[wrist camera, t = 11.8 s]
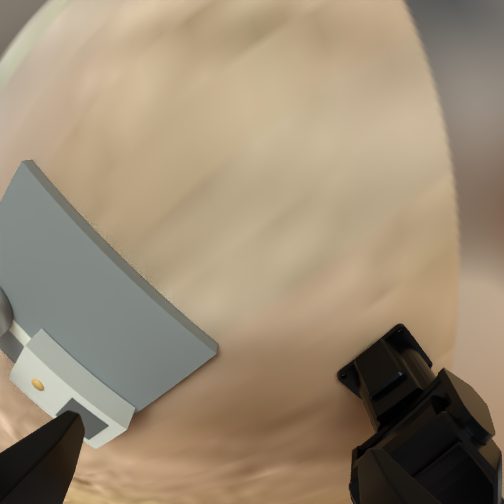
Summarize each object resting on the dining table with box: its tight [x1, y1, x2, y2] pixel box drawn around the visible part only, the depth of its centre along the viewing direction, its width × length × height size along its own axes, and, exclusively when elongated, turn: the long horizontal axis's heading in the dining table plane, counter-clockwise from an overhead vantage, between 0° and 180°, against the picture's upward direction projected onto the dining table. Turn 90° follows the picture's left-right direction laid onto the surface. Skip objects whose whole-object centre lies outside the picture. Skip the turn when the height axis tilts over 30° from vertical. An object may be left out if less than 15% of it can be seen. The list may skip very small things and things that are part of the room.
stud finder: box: [8, 328, 135, 449], centre depth 20 cm, size 10×6×3 cm, turn 44°
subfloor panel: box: [0, 160, 218, 415], centre depth 21 cm, size 19×17×1 cm
